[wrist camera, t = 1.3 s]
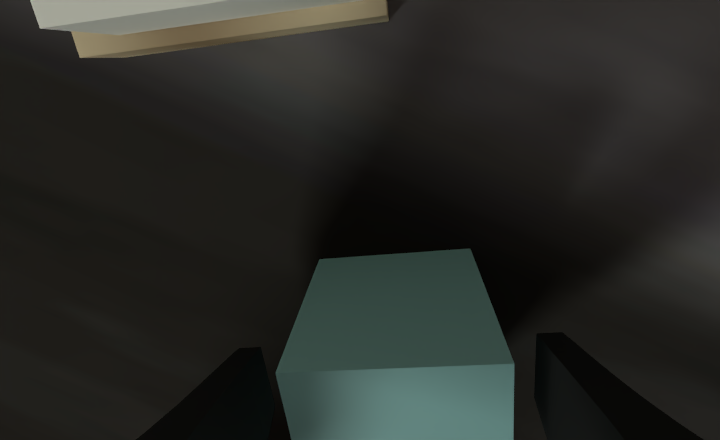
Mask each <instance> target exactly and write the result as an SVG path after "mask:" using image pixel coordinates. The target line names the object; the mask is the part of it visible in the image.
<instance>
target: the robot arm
mask: <svg viewBox="0 0 720 440" xmlns="http://www.w3.org/2000/svg"><path fill="white" fill-rule="evenodd" d="M534 398H535V401H536V405H537V408H538V411H539V415H540V418H541V421H542V424H543V427H544V430H545V433H546V436H547V439H548V440H703V439H702V438H700V437H699V436H697V435H696V434H694V433H693V432H691V431H690V430H688V429H687V428H685V427H684V426H682V425H681V424H679V423H678V422H676V421H675V420H674V419H672V418H671V417H669V416H668V415H667V414H665V413H664V412H662V411H661V410H659V409H658V408H657V407H655V406H654V405H652V404H651V403H650V402H648V401H647V400H646V399H644V398H643V397H642V396H640V395H639V394H638V393H636V392H635V391H634V390H632V389H631V388H630V387H629V386H627V385H626V384H625V383H623V382H622V381H621V380H620V379H618V378H617V377H616V376H615V375H613V374H612V373H611V372H610V371H608V370H607V369H606V368H605V367H603V366H602V365H601V364H600V363H599V362H597V361H596V360H595V359H594V358H592V357H591V356H590V355H589V354H588V353H586V352H585V351H584V350H583V349H582V348H580V347H579V346H578V345H577V344H576V343H575V342H573V341H572V340H571V339H570V338H569V337H567V336H566V335H565V334H564V333H562V332H559V333H539V334H537V338H536V365H535V393H534ZM274 409H275V403H274V399H273V395H272V391H271V387H270V383H269V379H268V375H267V371H266V367H265V363H264V359H263V355H262V351H261V347H256V348H239V349H238V350H237V351H235V352H234V353H233V354H232V355H231V356H230V357H229V358H228V359H227V360H225V361H224V362H223V363H222V364H221V365H220V366H219V367H218V368H217V369H216V370H215V371H214V372H213V373H212V374H211V375H209V376H208V377H207V378H206V379H205V380H204V381H203V382H202V383H201V384H200V385H199V386H198V387H197V388H195V389H194V390H193V391H192V392H191V393H190V394H189V395H188V396H187V397H186V398H185V399H183V400H182V401H181V402H180V403H179V404H178V405H177V406H176V407H174V408H173V409H172V410H171V411H170V412H169V413H167V414H166V415H165V416H164V417H163V418H161V419H160V420H159V421H158V422H157V423H156V424H154V425H153V426H152V427H151V428H150V429H149V430H147V431H146V432H145V433H144V434H143V435H141V436H140V437H139V438H138V439H136V440H268V436H269V432H270V428H271V423H272V418H273V414H274Z"/></svg>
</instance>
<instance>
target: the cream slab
mask: <svg viewBox="0 0 720 440" xmlns="http://www.w3.org/2000/svg"><path fill="white" fill-rule="evenodd" d="M30 1H31V4H32V7H33V10H34V13H35V15H36V18H37V21H38V24H39V27H40V29H52V30H64V31H75V32H87V33H99V34H111V35H124V34H131V33H138V32H145V31H152V30H159V29H166V28H173V27H180V26H187V25H194V24H201V23H208V22H215V21H222V20H229V19H236V18H243V17H250V16H257V15H264V14H271V13H278V12H285V11H292V10H299V9H306V8H313V7H320V6H327V5H334V4H341V3H348V2H355V1H362V0H30Z"/></svg>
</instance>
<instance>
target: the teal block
mask: <svg viewBox="0 0 720 440" xmlns="http://www.w3.org/2000/svg"><path fill="white" fill-rule="evenodd" d="M276 378H277V382H278V386H279V390H280V394H281V399H282V403H283V407H284V411H285V415H286V419H287V424H288V428H289V432H290V436H291V440H513V423H514V362H513V359H512V356H511V354H510V351H509V349H508V346H507V343H506V341H505V338H504V336H503V333H502V330H501V328H500V325H499V322H498V320H497V317H496V315H495V312H494V309H493V307H492V304H491V301H490V299H489V296H488V294H487V291H486V288H485V286H484V283H483V280H482V278H481V275H480V273H479V270H478V267H477V265H476V262H475V260H474V257H473V254H472V252H471V249H470V248H469V249H455V250H441V251H427V252H413V253H399V254H385V255H371V256H357V257H343V258H329V259H319V262H318V264H317V267H316V269H315V272H314V274H313V277H312V280H311V282H310V285H309V287H308V290H307V293H306V295H305V298H304V300H303V303H302V306H301V308H300V311H299V313H298V316H297V318H296V321H295V324H294V326H293V329H292V331H291V334H290V337H289V339H288V342H287V344H286V347H285V350H284V352H283V355H282V357H281V360H280V362H279V365H278V368H277V370H276Z"/></svg>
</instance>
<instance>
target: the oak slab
mask: <svg viewBox="0 0 720 440" xmlns="http://www.w3.org/2000/svg"><path fill="white" fill-rule="evenodd" d="M388 21H389V16H388V4H387V0H362V1H355V2H348V3H341V4H334V5H327V6H320V7H313V8H306V9H299V10H292V11H285V12H278V13H271V14H264V15H257V16H250V17H243V18H236V19H229V20H222V21H215V22H208V23H201V24H194V25H187V26H180V27H173V28H166V29H159V30H152V31H145V32H138V33H131V34H124V35H111V34H99V33H87V32H75V31H71V32H72V35H73V38H74V41H75V44H76V47H77V50H78V53H79V56H80V58H125V57H132V56H140V55H147V54H154V53H162V52H169V51H176V50H184V49H191V48H198V47H205V46H213V45H220V44H227V43H235V42H242V41H249V40H257V39H264V38H271V37H279V36H286V35H293V34H300V33H308V32H315V31H322V30H330V29H337V28H344V27H352V26H359V25H366V24H374V23H381V22H388Z"/></svg>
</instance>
